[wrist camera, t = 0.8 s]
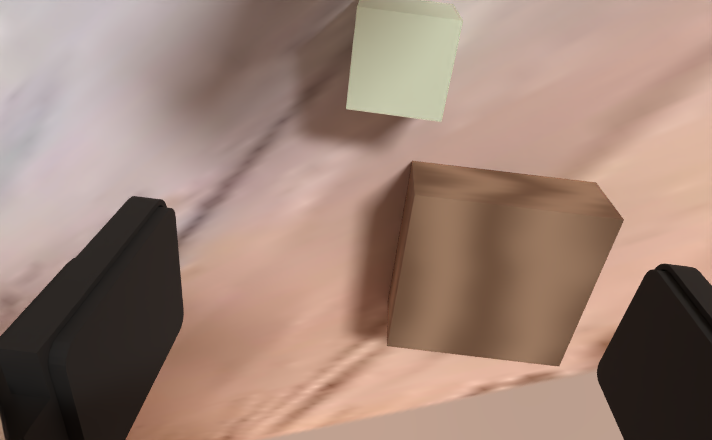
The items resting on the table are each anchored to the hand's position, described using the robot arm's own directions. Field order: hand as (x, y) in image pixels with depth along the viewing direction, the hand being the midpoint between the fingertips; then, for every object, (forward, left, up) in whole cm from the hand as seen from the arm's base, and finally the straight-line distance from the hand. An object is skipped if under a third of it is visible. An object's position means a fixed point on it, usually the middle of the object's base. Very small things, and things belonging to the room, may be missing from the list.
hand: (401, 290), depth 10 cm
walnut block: (-8, +13, -23) cm, 27 cm away
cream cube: (0, 0, -22) cm, 22 cm away
